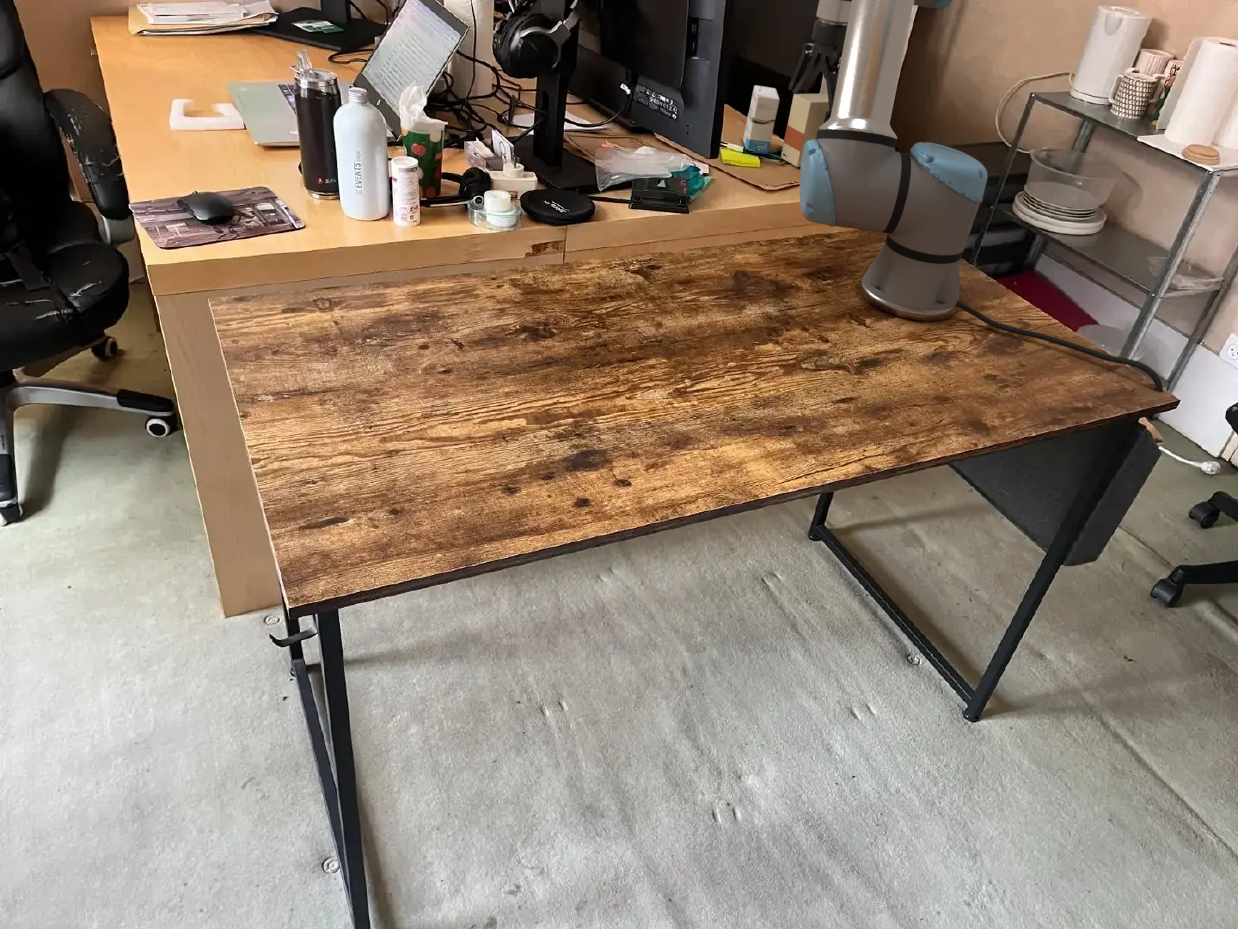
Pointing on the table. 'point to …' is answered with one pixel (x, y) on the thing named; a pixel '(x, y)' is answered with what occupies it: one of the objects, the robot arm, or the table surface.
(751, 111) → the ink box
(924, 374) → the table surface
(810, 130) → the carton
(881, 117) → the robot arm
